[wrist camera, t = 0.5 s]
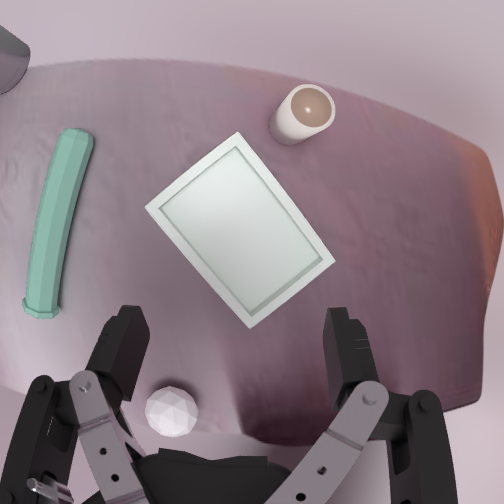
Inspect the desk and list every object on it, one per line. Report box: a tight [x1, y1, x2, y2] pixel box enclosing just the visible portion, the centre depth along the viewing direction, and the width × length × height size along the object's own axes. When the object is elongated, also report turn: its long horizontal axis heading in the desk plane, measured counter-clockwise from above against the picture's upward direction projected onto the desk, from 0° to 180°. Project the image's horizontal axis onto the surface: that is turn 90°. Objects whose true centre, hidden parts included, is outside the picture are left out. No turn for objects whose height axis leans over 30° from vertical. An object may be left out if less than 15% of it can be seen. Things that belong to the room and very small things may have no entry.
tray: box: [145, 132, 335, 329], centre depth 37 cm, size 20×14×2 cm
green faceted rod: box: [22, 128, 93, 319], centre depth 33 cm, size 6×6×25 cm
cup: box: [269, 84, 335, 146], centre depth 32 cm, size 5×5×10 cm
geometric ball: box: [145, 386, 199, 437], centre depth 39 cm, size 8×8×8 cm
